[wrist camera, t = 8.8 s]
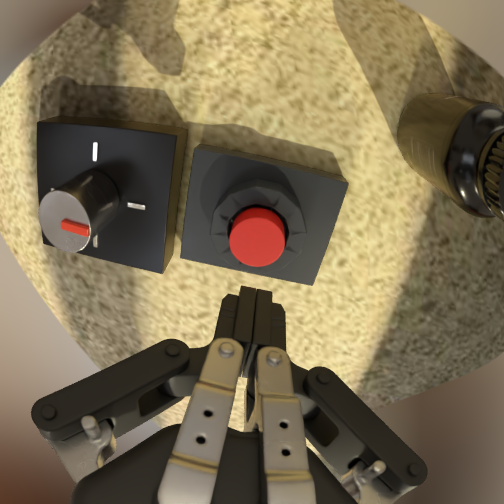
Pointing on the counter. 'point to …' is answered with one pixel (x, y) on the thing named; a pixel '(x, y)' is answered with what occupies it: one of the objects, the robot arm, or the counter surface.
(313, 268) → the button housing
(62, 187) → the stove knob
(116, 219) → the stove panel
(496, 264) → the counter surface
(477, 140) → the supplement bottle
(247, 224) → the power button
